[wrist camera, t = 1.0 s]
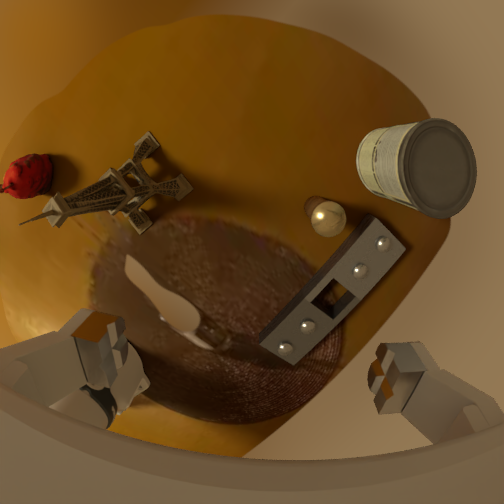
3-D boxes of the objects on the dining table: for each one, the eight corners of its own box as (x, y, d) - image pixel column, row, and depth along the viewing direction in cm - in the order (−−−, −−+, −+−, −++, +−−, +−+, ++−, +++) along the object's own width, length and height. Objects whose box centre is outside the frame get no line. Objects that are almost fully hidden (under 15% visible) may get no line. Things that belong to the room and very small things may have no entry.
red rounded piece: (45, 143, 36) (-20, 148, 22) (65, 173, 38) (-1, 186, 24) (23, 175, 38) (-38, 189, 24) (42, 204, 40) (-20, 227, 25)
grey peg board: (291, 354, 47) (293, 367, 44) (259, 333, 46) (259, 346, 42) (397, 243, 41) (408, 250, 37) (368, 213, 39) (377, 218, 36)
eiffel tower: (194, 188, 39) (104, 238, 15) (140, 234, 41) (33, 319, 17) (149, 131, 36) (23, 113, 13) (99, 180, 38) (-32, 216, 15)
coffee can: (402, 118, 35) (459, 107, 21) (425, 182, 38) (485, 197, 24) (343, 141, 36) (385, 135, 23) (371, 209, 39) (419, 235, 26)
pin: (317, 227, 40) (330, 243, 33) (295, 209, 39) (304, 221, 32) (335, 205, 39) (353, 217, 32) (313, 186, 38) (327, 194, 31)
